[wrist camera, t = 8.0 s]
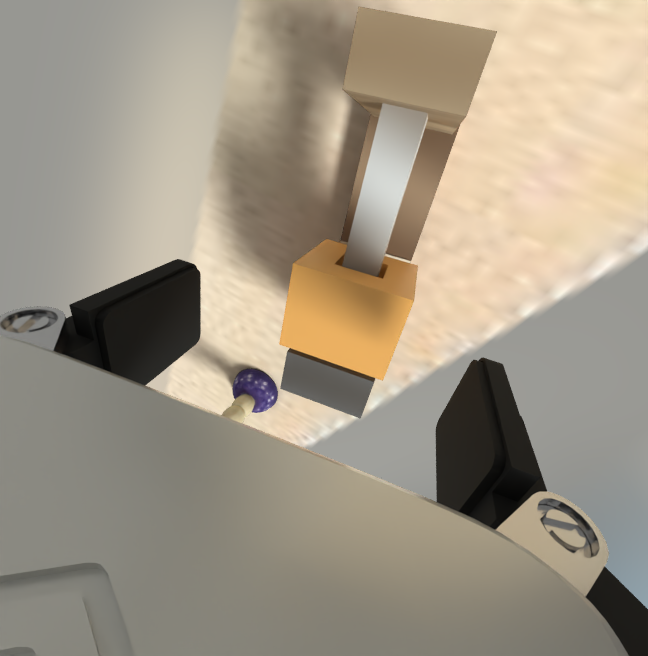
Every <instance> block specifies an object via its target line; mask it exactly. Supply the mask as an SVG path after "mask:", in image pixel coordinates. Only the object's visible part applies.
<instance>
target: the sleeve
mask: <svg viewBox="0 0 648 656" xmlns="http://www.w3.org/2000/svg"><path fill="white" fill-rule="evenodd" d="M346 248H347V245H346V244H342V243H339V242H335V241H332V240H329V239H326V240H324V241H323V242H322V243H320V244H319V245H318V246H316V247H315V248H313V249H312V250H311V251H309V252H308V253H307V254H305V255H304V256H302V257H301V258H300V259H298V260H297V261H296V262H294V263H293V267H292V273H291V278H290V284H289V290H288V296H287V302H286V308H285V314H284V320H283V326H282V332H281V337H280V343H279V344H280V345H283V346H286V347H289V348H291V349H294V350H297V351H300V352H303V353H306V354H308V355H311V356H314V357H317V358H320V359H323V360H326V361H328V362H331V363H334V364H337V365H340V366H343V367H345V368H348V369H351V370H354V371H357V372H360V373H363V374H365V375H368V376H371V377H374V378H377V379H380V380H382V381H383V379H384V376H385V374H386V371H387V369H388V366H389V364H390V361H391V358H392V356H393V353H394V351H395V348H396V346H397V343H398V340H399V338H400V335H401V333H402V330H403V328H404V325H405V322H406V320H407V317H408V315H409V312H410V310H411V307H412V304H413V302H414V296H415V287H416V278H417V268H418V266H417V265H414V264H411V263H407V262H404V261H400V260H397V259H393V258H390V257H387V256H385V257H384V260H383V263H382V266H381V269H380V272H379V276H378V277H375V276H372V275H369V274H365V273H362V272H359V271H356V270H352V269H349V268H346V267H342V264H343V260H344V256H345V252H346Z"/></svg>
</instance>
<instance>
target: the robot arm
mask: <svg viewBox="0 0 648 656" xmlns="http://www.w3.org/2000/svg"><path fill="white" fill-rule="evenodd" d="M70 309H71V313H72V316H71V317H68V318H66V317H65V314H64V313H63V312H62V311H60V310H58V309H56V308H51V307H41V306H37V307H26V308H21V309H16V310H13V311H10V312H7V313H5V314H3V315H1V316H0V656H648V609H647V608H646V607H645V606H644V605H643V604H642V603H641V602H640V601H639V600H638V599H637V598H636V597H635V596H634V595H633V594H632V593H631V592H630V591H629V590H628V589H627V588H625V586H624V585H623V584H622V583H620V582H619V580H618V579H617V578H616V577H615V576H614V575H613V574H612V573H611V572H610V571H608V569H607V568H606V567H605V564H606V563H607V560H608V555H609V552H608V548H607V543H606V541H605V539H604V538H603V535H602V533H601V532H600V530H599V529H598V528H597V526H596V525H595V524H594V523H593V521H592V520H591V519H590V518H589V517H588V516H587V515H586V514H585V513H584V512H583V511H582V510H581V509H580V508H578V507H577V506H576V505H574V504H573V503H572V502H570V501H569V500H567V499H565V498H563V497H561V496H559V495H557V494H554V493H551V492H547V489H546V487H545V484H544V481H543V478H542V475H541V472H540V469H539V466H538V463H537V460H536V457H535V454H534V451H533V448H532V446H531V442H530V440H529V436H528V433H527V430H526V428H525V424H524V421H523V419H522V417H521V416H520V414H519V411H518V408H517V405H516V402H515V399H514V396H513V393H512V390H511V387H510V384H509V381H508V378H507V375H506V372H505V370H504V366H503V364H501V363H497V362H495V361H492V360H488V359H486V358H481V359H480V360H479V361H477V360H473V361H472V362H471V363H470V365H469V367H468V369H467V371H466V372H465V374H464V376H463V378H462V379H461V381H460V383H459V385H458V386H457V388H456V390H455V392H454V394H453V395H452V397H451V399H450V401H449V403H448V404H447V406H446V408H445V410H444V411H443V413H442V415H441V417H440V418H439V420H438V423H437V427H436V473H437V476H436V478H437V502H435V501H433V500H431V499H428V498H426V497H424V496H422V495H419V494H417V493H414V492H412V491H409V490H407V489H404V488H402V487H399V486H397V485H394V484H392V483H389V482H387V481H385V480H382V479H380V478H378V477H375V476H373V475H370V474H368V473H365V472H363V471H360V470H358V469H355V468H353V467H350V466H348V465H345V464H343V463H340V462H338V461H335V460H332V459H330V458H328V457H325V456H323V455H320V454H318V453H315V452H313V451H310V450H308V449H305V448H303V447H300V446H298V445H295V444H293V443H290V442H288V441H285V440H283V439H280V438H278V437H275V436H273V435H270V434H267V433H265V432H262V431H260V430H257V429H255V428H252V427H250V426H247V425H245V424H242V423H240V422H237V421H235V420H232V419H229V418H227V417H224V416H222V415H219V414H217V413H214V412H212V411H209V410H206V409H204V408H201V407H199V406H196V405H194V404H191V403H189V402H186V401H184V400H181V399H178V398H176V397H173V396H171V395H168V394H165V393H163V392H160V391H158V390H155V389H152V388H150V387H147V386H145V385H146V384H147V383H149V382H150V381H151V380H153V379H154V378H155V377H156V376H157V375H159V374H160V373H161V372H162V371H164V370H165V369H166V368H167V367H168V366H170V365H171V364H172V363H173V362H175V361H176V360H177V359H178V358H179V357H181V356H182V355H183V354H184V353H186V352H187V351H188V350H189V349H190V348H192V347H193V346H194V345H195V344H196V343H197V342H198V341H199V338H200V271H199V270H197V267H196V266H195V265H194V264H192V263H189V262H186V261H182V260H179V259H177V260H174V261H172V262H169V263H167V264H165V265H162V266H160V267H157V268H155V269H153V270H151V271H148V272H146V273H143V274H141V275H139V276H136V277H134V278H131V279H129V280H127V281H124V282H122V283H120V284H117V285H115V286H113V287H110V288H108V289H106V290H103V291H101V292H99V293H96V294H94V295H92V296H89V297H87V298H85V299H82V300H80V301H77V302H75V303H73V304H71V305H70Z"/></svg>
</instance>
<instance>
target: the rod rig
mask: <svg viewBox="0 0 648 656" xmlns="http://www.w3.org/2000/svg"><path fill="white" fill-rule="evenodd" d="M496 33H497V31H492V30H486V29H481V28H475V27H470V26H464V25H459V24H453V23H447V22H442V21H436V20H431V19H425V18H419V17H414V16H408V15H403V14H397V13H392V12H386V11H380V10H375V9H369V8H364V7H358V12H357V17H356V22H355V27H354V32H353V38H352V43H351V48H350V53H349V58H348V63H347V68H346V74H345V79H344V84H343V90H344V91H345V92H346V93H347V94H349V95H350V96H351V97H352V98H353V99H354V100H356V101H357V102H358V103H359V104H360V105H361V106H362V107H364V108H365V109H366V110H367V111H368V112H369V113H370V114H371V115H370V119H369V123H368V127H367V131H366V136H365V140H364V144H363V148H362V152H361V157H360V161H359V165H358V169H357V173H356V178H355V182H354V186H353V190H352V194H351V199H350V203H349V207H348V211H347V216H346V220H345V224H344V228H343V232H342V237H341V240H340V243H342V244H346V245H347V248H346V252H345V256H344V260H343V264H342V267H346V268H349V269H352V270H356V271H359V272H362V273H365V274H369V275H372V276H375V277H378V276H379V272H380V269H381V266H382V263H383V260H384V257H385V256H387V257H390V258H393V259H397V260H400V261H404V262H407V263H411V260H412V257H413V254H414V251H415V249H416V246H417V243H418V240H419V237H420V235H421V232H422V229H423V226H424V224H425V221H426V218H427V215H428V212H429V210H430V207H431V204H432V201H433V199H434V196H435V193H436V190H437V187H438V185H439V182H440V179H441V176H442V173H443V171H444V168H445V165H446V162H447V160H448V157H449V154H450V151H451V148H452V146H453V143H454V140H455V137H456V135H457V132H458V129H459V126H460V124H461V122H462V121H463V120H464V118H465V117H466V115H467V113H468V110H469V107H470V104H471V102H472V99H473V96H474V93H475V91H476V88H477V85H478V82H479V80H480V77H481V74H482V71H483V69H484V66H485V63H486V60H487V58H488V55H489V52H490V49H491V47H492V44H493V41H494V38H495V36H496ZM374 381H375V378H374V377H371V376H368V375H365V374H363V373H360V372H357V371H354V370H351V369H348V368H345V367H343V366H340V365H337V364H334V363H331V362H328V361H326V360H323V359H320V358H317V357H314V356H311V355H308V354H306V353H303V352H300V351H297V350H294V349H291V348H290V349H289V350H288V351H287V356H286V361H285V367H284V372H283V377H282V383H281V388H280V389H283V390H286V391H288V392H291V393H294V394H296V395H299V396H302V397H304V398H307V399H310V400H312V401H315V402H318V403H320V404H323V405H326V406H328V407H331V408H334V409H337V410H339V411H342V412H345V413H347V414H350V415H353V416H355V417H358V418H361V416H362V413H363V411H364V408H365V405H366V403H367V400H368V397H369V395H370V392H371V389H372V386H373V384H374Z"/></svg>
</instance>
